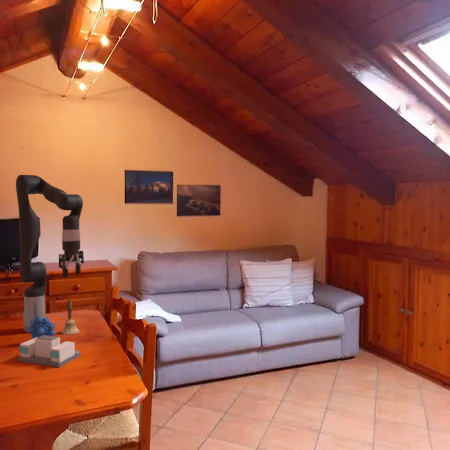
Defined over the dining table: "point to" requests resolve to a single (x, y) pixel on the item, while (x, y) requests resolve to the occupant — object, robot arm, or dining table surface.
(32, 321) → the grapes
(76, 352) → the rail board
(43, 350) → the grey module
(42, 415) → the dining table surface
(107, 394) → the dining table surface
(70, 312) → the hand bell
